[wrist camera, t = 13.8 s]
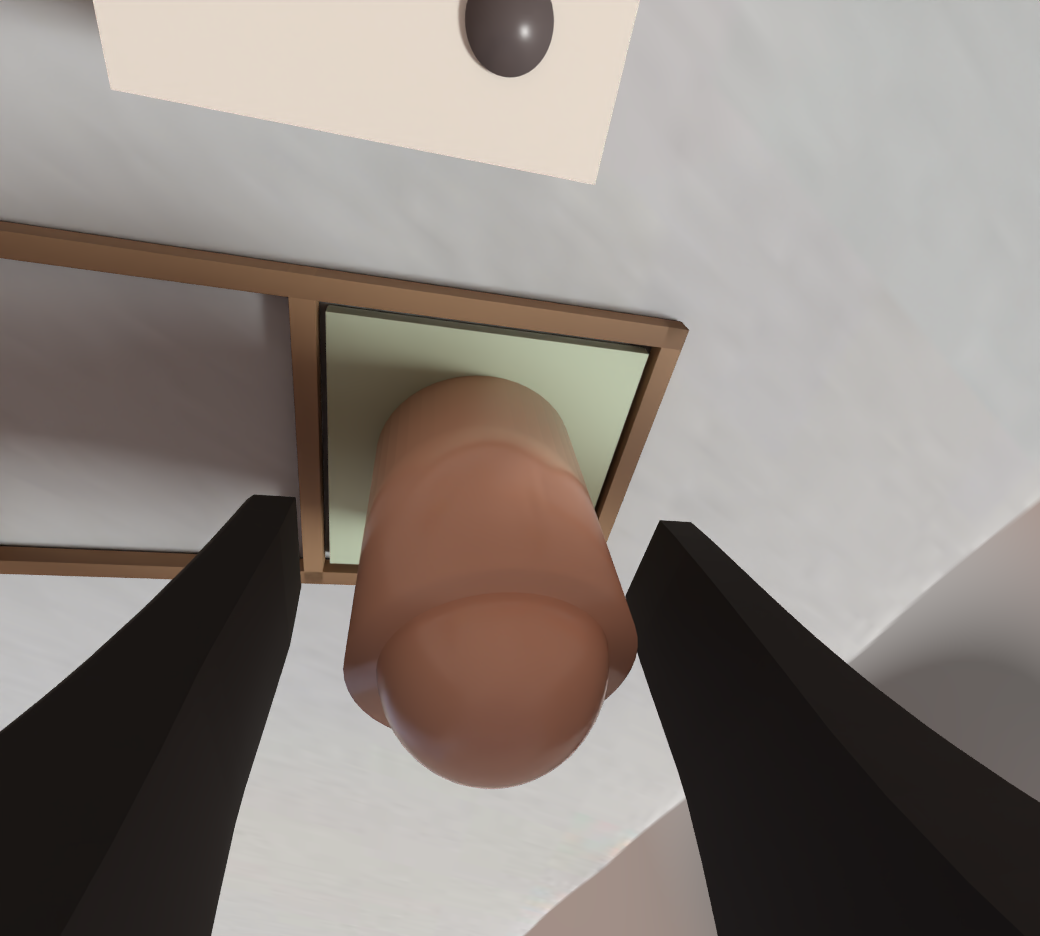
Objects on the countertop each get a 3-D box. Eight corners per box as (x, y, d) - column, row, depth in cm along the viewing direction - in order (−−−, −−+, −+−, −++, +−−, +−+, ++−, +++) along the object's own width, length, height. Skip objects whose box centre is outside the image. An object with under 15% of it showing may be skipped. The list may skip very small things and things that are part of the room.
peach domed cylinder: (547, 537, 13) (616, 835, 8) (372, 528, 12) (328, 854, 7) (592, 388, 11) (727, 677, 6) (379, 363, 10) (321, 677, 5)
